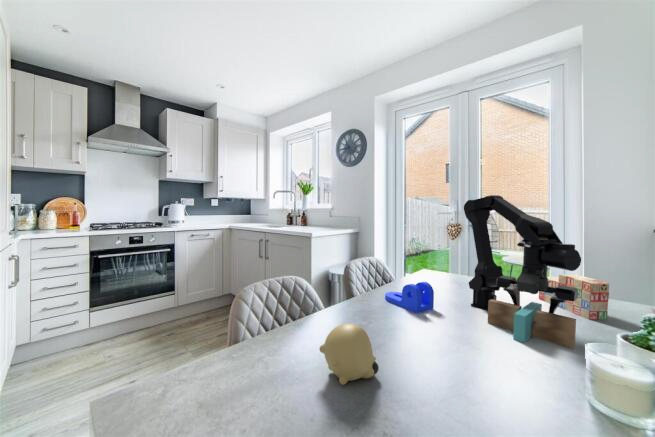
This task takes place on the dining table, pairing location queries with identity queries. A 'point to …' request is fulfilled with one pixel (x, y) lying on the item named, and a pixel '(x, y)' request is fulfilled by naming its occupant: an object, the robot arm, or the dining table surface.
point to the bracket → (413, 297)
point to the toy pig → (349, 353)
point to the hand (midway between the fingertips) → (533, 316)
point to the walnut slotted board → (535, 323)
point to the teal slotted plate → (525, 321)
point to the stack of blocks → (582, 296)
